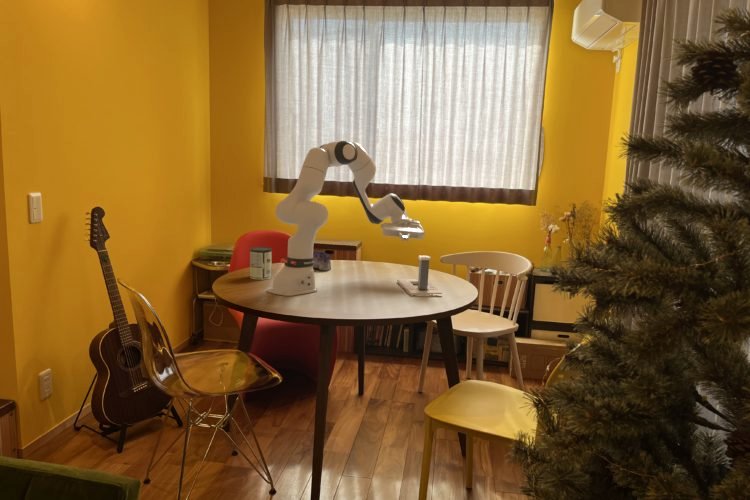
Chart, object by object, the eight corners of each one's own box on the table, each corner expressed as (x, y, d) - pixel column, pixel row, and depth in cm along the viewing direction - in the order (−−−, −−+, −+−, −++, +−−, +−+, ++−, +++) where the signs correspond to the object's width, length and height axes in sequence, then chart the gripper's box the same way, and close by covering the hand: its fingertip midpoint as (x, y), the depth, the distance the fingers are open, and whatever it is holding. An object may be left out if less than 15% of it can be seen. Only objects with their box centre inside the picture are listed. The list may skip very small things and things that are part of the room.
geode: (339, 271, 292) (337, 252, 290) (318, 275, 288) (316, 256, 285) (324, 262, 310) (323, 245, 308) (304, 266, 305) (303, 248, 303)
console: (397, 282, 271) (397, 278, 271) (425, 282, 274) (425, 279, 273) (410, 296, 244) (411, 292, 244) (441, 296, 247) (442, 292, 246)
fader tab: (416, 290, 254) (418, 255, 251) (425, 290, 254) (428, 255, 252) (418, 293, 249) (421, 257, 247) (428, 293, 250) (430, 257, 248)
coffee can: (253, 274, 273) (253, 246, 271) (274, 276, 272) (274, 247, 270) (246, 279, 263) (246, 249, 260) (268, 280, 262) (268, 250, 259)
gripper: (381, 217, 270) (384, 231, 258) (422, 221, 273) (427, 235, 261) (379, 228, 273) (382, 243, 261) (420, 233, 276) (424, 247, 264)
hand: (405, 239), depth 261 cm, fingers closed
